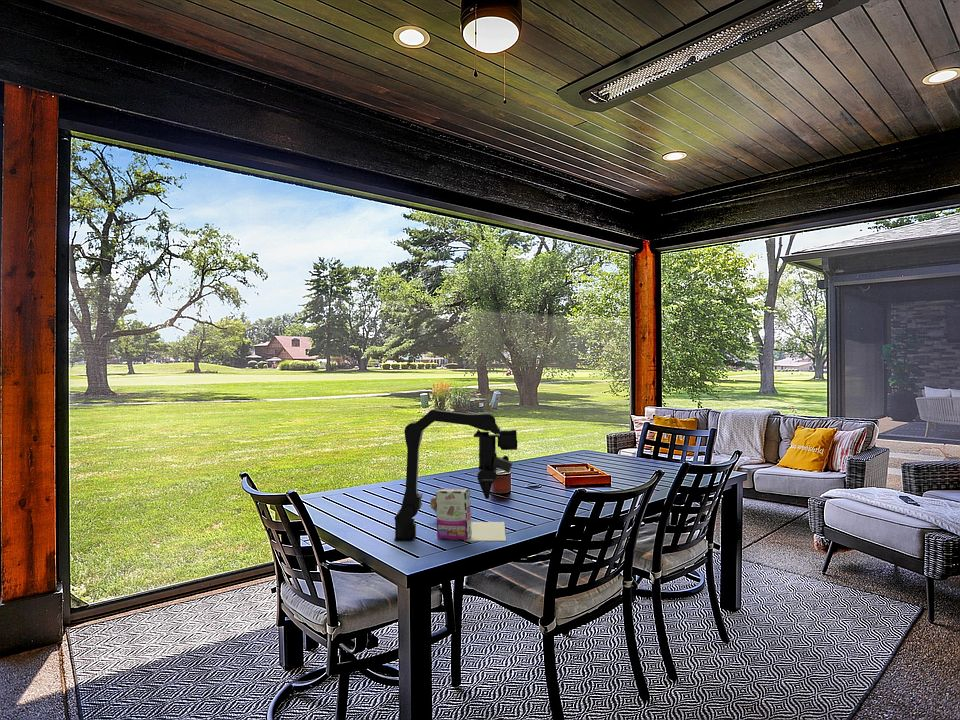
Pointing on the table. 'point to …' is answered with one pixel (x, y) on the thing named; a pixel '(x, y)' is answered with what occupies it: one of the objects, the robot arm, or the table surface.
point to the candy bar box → (453, 514)
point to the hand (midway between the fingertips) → (487, 495)
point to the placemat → (487, 531)
